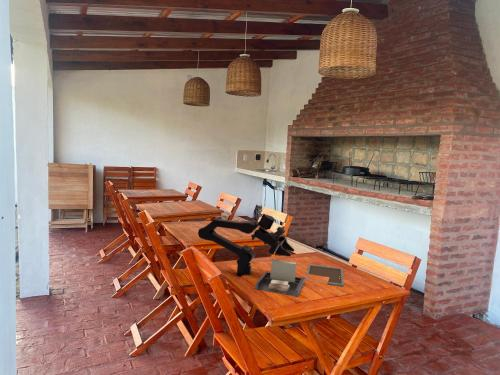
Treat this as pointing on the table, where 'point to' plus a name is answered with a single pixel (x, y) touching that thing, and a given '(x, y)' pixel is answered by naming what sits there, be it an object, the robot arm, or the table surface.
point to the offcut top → (279, 283)
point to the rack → (266, 280)
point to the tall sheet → (283, 270)
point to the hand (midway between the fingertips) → (292, 253)
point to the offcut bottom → (279, 288)
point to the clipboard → (327, 274)
